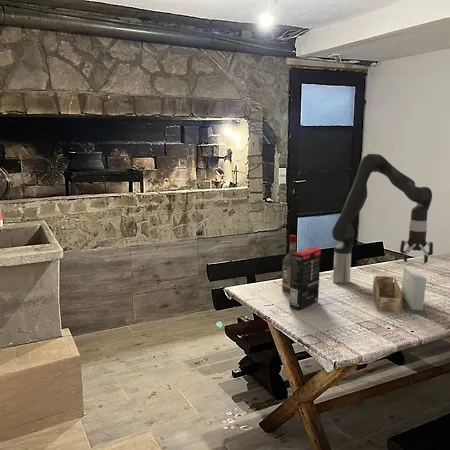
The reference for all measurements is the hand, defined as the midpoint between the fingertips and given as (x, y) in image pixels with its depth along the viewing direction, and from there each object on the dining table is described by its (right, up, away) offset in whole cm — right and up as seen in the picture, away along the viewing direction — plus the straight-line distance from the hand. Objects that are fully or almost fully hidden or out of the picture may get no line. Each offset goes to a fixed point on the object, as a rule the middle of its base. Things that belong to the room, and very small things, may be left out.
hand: (415, 262), depth 217 cm
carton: (-11, -20, +7) cm, 24 cm away
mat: (0, -21, +4) cm, 21 cm away
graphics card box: (-52, -21, +4) cm, 57 cm away
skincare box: (0, -20, +4) cm, 21 cm away
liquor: (-55, -17, +25) cm, 63 cm away
